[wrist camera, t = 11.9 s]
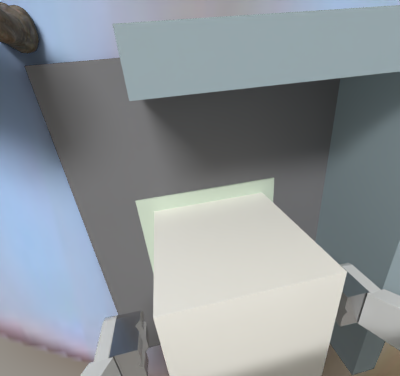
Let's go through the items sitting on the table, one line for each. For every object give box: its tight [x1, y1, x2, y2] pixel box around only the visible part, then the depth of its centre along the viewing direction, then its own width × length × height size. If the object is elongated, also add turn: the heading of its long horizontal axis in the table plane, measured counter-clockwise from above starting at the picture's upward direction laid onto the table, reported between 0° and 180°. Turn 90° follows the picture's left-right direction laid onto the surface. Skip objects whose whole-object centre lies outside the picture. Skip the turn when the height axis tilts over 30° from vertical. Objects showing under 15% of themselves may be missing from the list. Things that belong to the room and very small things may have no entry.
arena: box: [25, 5, 400, 375], centre depth 11 cm, size 15×18×5 cm
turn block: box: [153, 193, 347, 376], centre depth 10 cm, size 6×6×6 cm
